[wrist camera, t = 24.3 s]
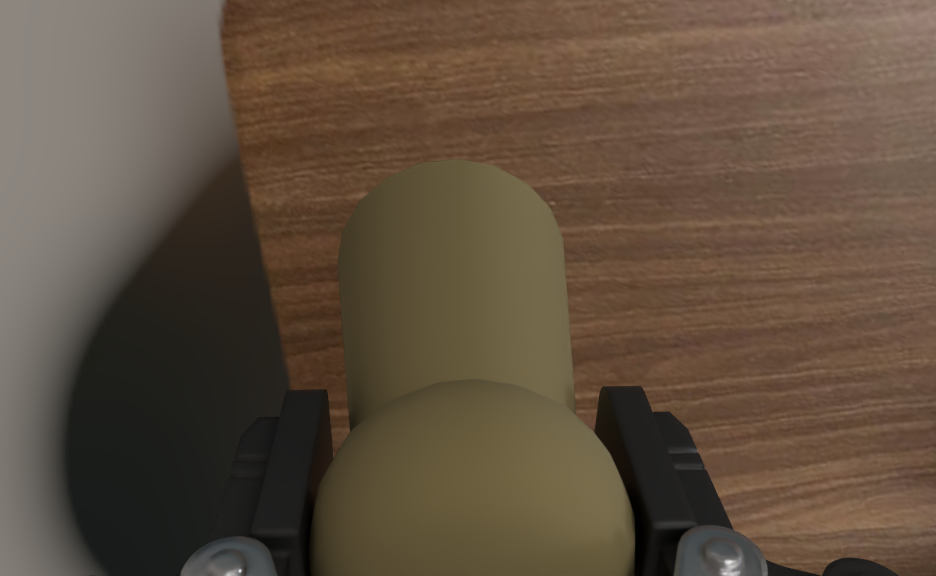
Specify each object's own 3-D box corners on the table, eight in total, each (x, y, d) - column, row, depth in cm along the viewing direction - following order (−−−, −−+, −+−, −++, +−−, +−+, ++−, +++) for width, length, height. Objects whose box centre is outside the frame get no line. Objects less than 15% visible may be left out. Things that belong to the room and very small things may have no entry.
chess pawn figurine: (433, 109, 18) (446, 395, 9) (612, 249, 20) (779, 601, 11) (292, 284, 20) (180, 666, 11) (467, 394, 23) (501, 793, 13)
